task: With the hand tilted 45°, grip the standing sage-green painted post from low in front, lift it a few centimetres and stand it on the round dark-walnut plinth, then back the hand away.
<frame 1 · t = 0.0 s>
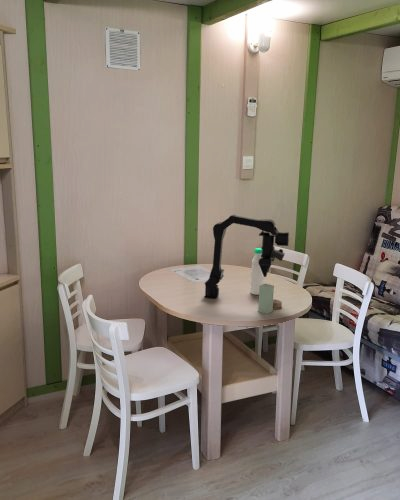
hand: (266, 274, 241), 15 cm above the table, tool pointing down, fingers open, 9 cm apart
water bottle: (256, 293, 259), on the table
sage post: (265, 311, 230), on the table
walnut plinth: (273, 306, 238), on the table
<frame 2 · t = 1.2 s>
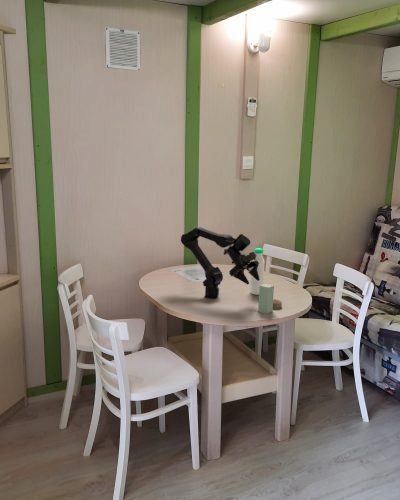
hand: (253, 282, 232), 13 cm above the table, tool tilted 45°, fingers open, 9 cm apart
nothing on the table moved.
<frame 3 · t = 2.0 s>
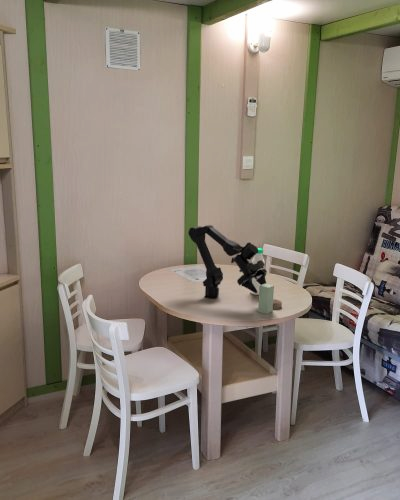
hand: (262, 290, 230), 10 cm above the table, tool tilted 45°, fingers open, 9 cm apart
nothing on the table moved.
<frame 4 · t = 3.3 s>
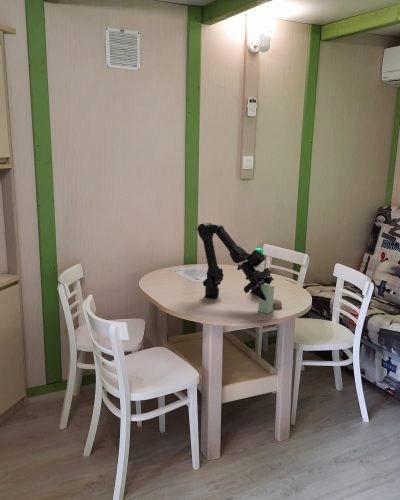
hand: (268, 298, 228), 7 cm above the table, tool tilted 45°, fingers closed on sage post, 5 cm apart
sage post: (265, 311, 230), on the table, touching gripper
everything else where it was.
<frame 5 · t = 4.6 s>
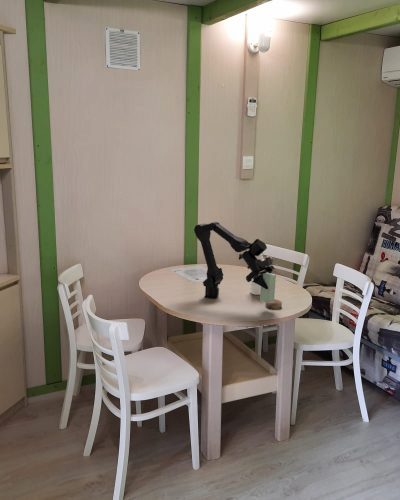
hand: (270, 287, 228), 12 cm above the table, tool tilted 45°, fingers closed on sage post, 5 cm apart
sage post: (267, 300, 230), point 5 cm above the table, touching gripper
everything else where it was.
when the fingers open (10 cm above the table, at t = 6.0 s): sage post stays where it is, resting on walnut plinth.
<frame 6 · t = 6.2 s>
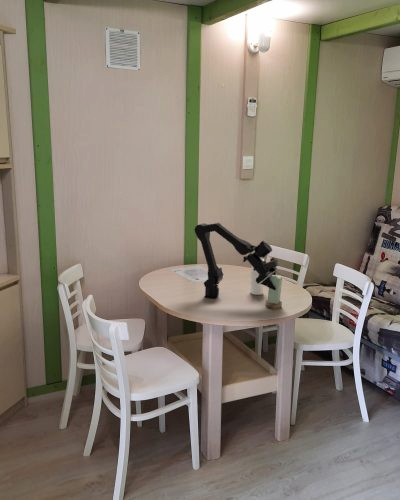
hand: (277, 287, 235), 10 cm above the table, tool tilted 45°, fingers open, 7 cm apart
sage post: (273, 301, 237), point 3 cm above the table, touching walnut plinth
everything else where it was.
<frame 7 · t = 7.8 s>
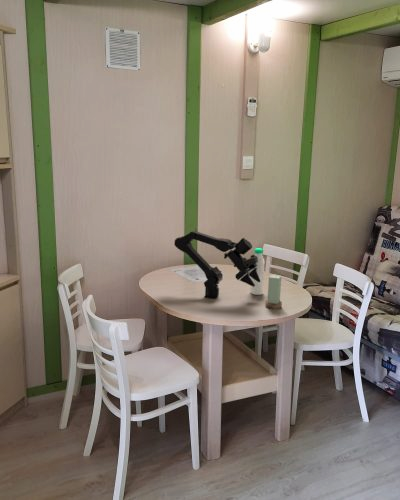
hand: (257, 284, 239), 10 cm above the table, tool tilted 45°, fingers open, 9 cm apart
nothing on the table moved.
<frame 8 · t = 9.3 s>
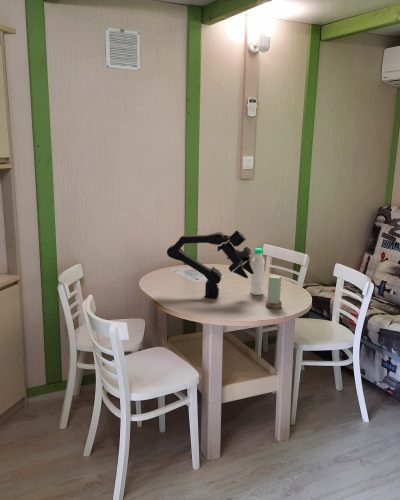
hand: (250, 275, 242), 14 cm above the table, tool tilted 45°, fingers open, 9 cm apart
nothing on the table moved.
at the end: sage post 0.1 cm off-centre on the walnut plinth, point 2.5 cm above the walnut plinth's base; sage post tilted 0°; the gripper is holding nothing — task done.
